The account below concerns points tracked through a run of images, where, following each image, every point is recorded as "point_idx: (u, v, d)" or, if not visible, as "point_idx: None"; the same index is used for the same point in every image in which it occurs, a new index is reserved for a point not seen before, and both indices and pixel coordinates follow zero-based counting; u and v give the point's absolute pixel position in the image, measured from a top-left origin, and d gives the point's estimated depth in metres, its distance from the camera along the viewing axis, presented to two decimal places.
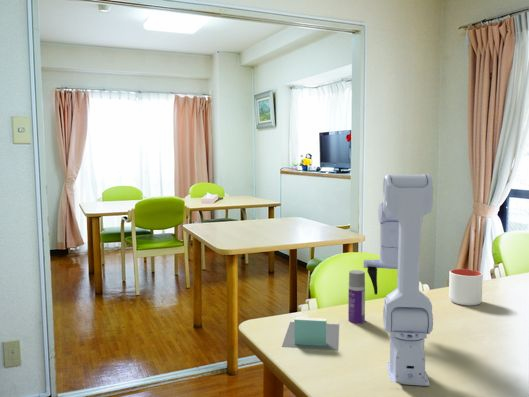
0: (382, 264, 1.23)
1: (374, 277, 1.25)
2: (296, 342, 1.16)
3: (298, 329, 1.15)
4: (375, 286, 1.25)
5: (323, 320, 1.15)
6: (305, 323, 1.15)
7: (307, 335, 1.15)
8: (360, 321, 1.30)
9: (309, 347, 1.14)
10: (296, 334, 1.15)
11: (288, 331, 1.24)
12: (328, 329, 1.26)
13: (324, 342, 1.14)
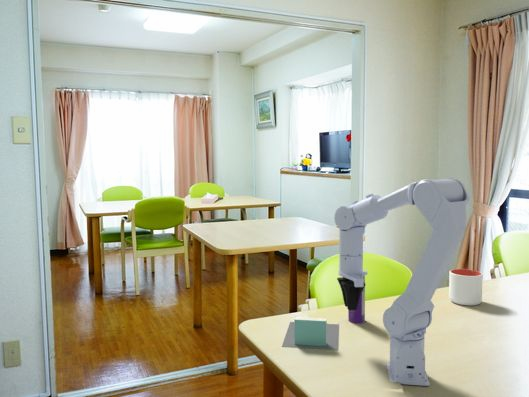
0: None
1: (341, 286, 1.15)
2: (296, 342, 1.16)
3: (298, 329, 1.15)
4: (343, 296, 1.15)
5: (323, 320, 1.15)
6: (305, 323, 1.15)
7: (307, 335, 1.15)
8: (360, 321, 1.30)
9: (309, 347, 1.14)
10: (296, 334, 1.15)
11: (288, 331, 1.24)
12: (328, 329, 1.26)
13: (324, 342, 1.14)
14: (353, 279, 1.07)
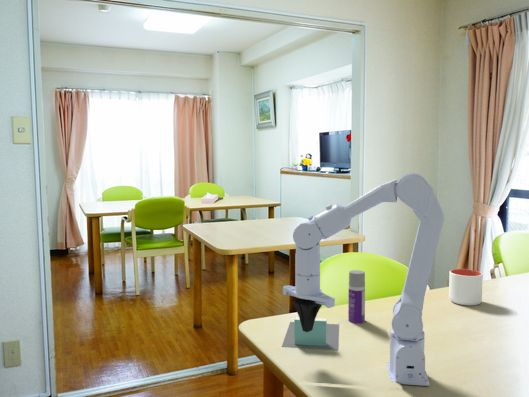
0: (293, 293, 1.06)
1: (299, 310, 1.05)
2: (296, 342, 1.16)
3: (298, 329, 1.15)
4: (301, 321, 1.06)
5: (323, 320, 1.15)
6: None
7: (307, 335, 1.15)
8: (360, 321, 1.30)
9: (309, 347, 1.14)
10: (296, 334, 1.15)
11: (288, 331, 1.24)
12: (328, 329, 1.26)
13: (324, 342, 1.14)
14: (324, 300, 1.01)
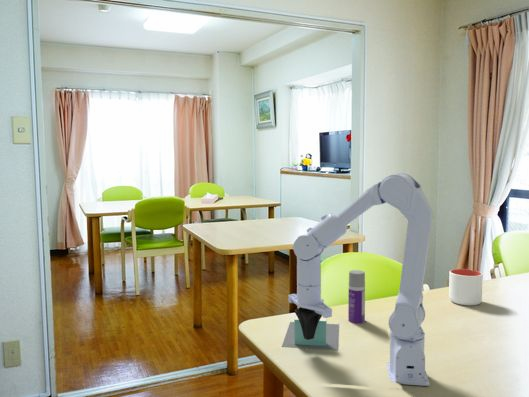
0: (295, 302, 1.10)
1: (300, 318, 1.10)
2: (296, 342, 1.16)
3: (298, 329, 1.15)
4: (302, 329, 1.10)
5: (323, 320, 1.15)
6: None
7: None
8: (360, 321, 1.30)
9: (309, 347, 1.14)
10: (296, 334, 1.15)
11: (288, 331, 1.24)
12: (328, 329, 1.26)
13: (324, 342, 1.14)
14: (321, 310, 1.04)
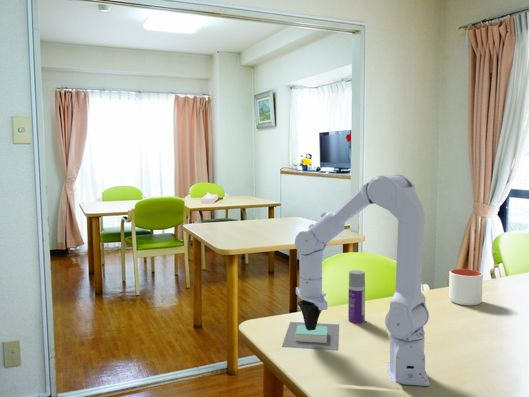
0: (298, 294, 1.17)
1: (302, 310, 1.16)
2: (297, 333, 1.18)
3: (300, 328, 1.21)
4: (304, 320, 1.16)
5: None
6: None
7: None
8: (360, 321, 1.30)
9: (309, 347, 1.14)
10: (298, 330, 1.20)
11: (288, 331, 1.24)
12: (328, 329, 1.26)
13: (324, 333, 1.17)
14: (317, 302, 1.10)
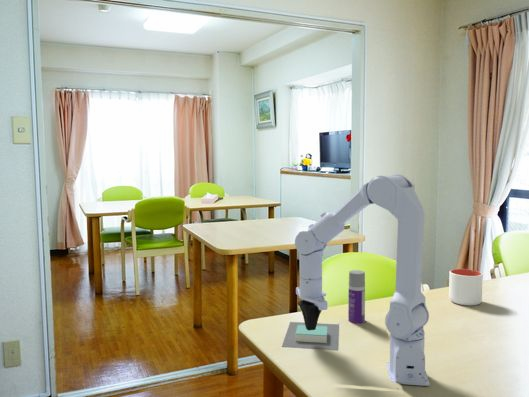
0: (298, 294, 1.17)
1: (302, 310, 1.16)
2: (297, 333, 1.18)
3: (300, 328, 1.21)
4: (304, 320, 1.16)
5: None
6: None
7: None
8: (360, 321, 1.30)
9: (309, 347, 1.14)
10: (298, 330, 1.20)
11: (288, 331, 1.24)
12: (328, 329, 1.26)
13: (324, 333, 1.17)
14: (317, 302, 1.10)
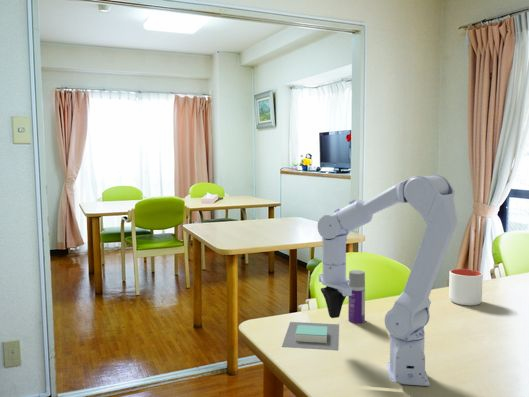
0: (321, 280, 1.13)
1: (325, 297, 1.12)
2: (297, 333, 1.18)
3: (300, 328, 1.21)
4: (328, 307, 1.13)
5: None
6: (307, 326, 1.23)
7: (308, 330, 1.19)
8: (360, 321, 1.30)
9: (309, 347, 1.14)
10: (298, 330, 1.20)
11: (288, 331, 1.24)
12: (328, 329, 1.26)
13: (324, 333, 1.17)
14: (341, 288, 1.06)
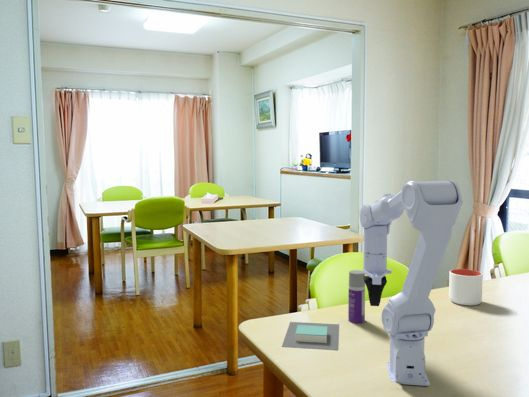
0: None
1: None
2: (297, 333, 1.18)
3: (300, 328, 1.21)
4: None
5: None
6: (307, 326, 1.23)
7: (308, 330, 1.19)
8: (360, 321, 1.30)
9: (309, 347, 1.14)
10: (298, 330, 1.20)
11: (288, 331, 1.24)
12: (328, 329, 1.26)
13: (324, 333, 1.17)
14: (371, 276, 1.09)
